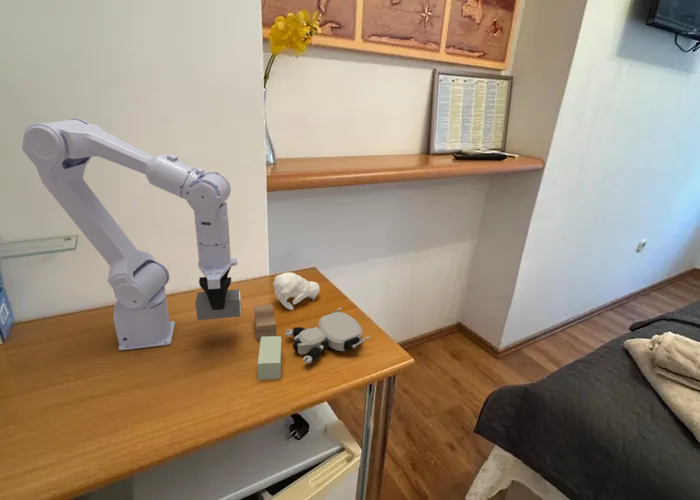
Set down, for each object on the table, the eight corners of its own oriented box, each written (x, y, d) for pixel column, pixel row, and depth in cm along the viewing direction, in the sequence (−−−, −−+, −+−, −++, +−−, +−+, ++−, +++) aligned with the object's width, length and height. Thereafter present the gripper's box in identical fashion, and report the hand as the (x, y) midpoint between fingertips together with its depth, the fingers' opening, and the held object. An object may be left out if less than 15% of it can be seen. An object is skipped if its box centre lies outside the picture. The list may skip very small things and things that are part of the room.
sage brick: (280, 379, 72) (280, 362, 70) (258, 380, 71) (257, 363, 70) (281, 352, 79) (281, 336, 78) (261, 352, 79) (261, 336, 77)
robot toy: (306, 377, 74) (371, 350, 81) (304, 358, 72) (372, 333, 79) (283, 341, 84) (343, 320, 90) (281, 324, 82) (343, 304, 88)
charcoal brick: (197, 320, 75) (195, 302, 74) (199, 309, 79) (197, 292, 77) (240, 316, 77) (239, 299, 76) (239, 305, 81) (238, 289, 79)
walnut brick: (276, 339, 83) (276, 324, 81) (257, 342, 82) (256, 326, 80) (272, 319, 90) (272, 304, 88) (254, 320, 89) (254, 306, 87)
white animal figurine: (271, 269, 93) (315, 264, 100) (269, 301, 96) (311, 293, 103) (282, 281, 88) (327, 274, 95) (279, 313, 91) (323, 305, 98)
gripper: (235, 255, 66) (239, 321, 72) (235, 225, 79) (239, 283, 85) (192, 257, 65) (199, 325, 70) (199, 226, 77) (204, 286, 83)
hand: (218, 302), depth 77 cm, fingers closed on charcoal brick, 4 cm apart
